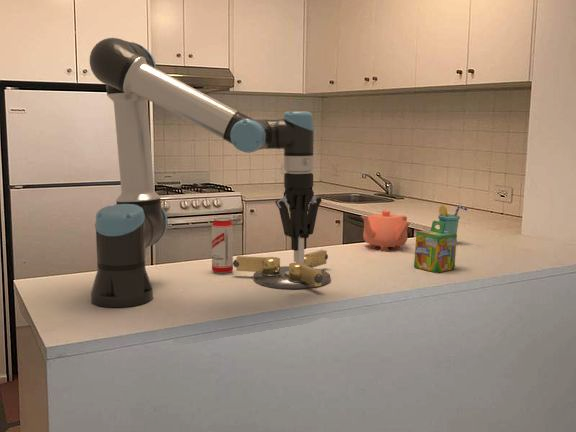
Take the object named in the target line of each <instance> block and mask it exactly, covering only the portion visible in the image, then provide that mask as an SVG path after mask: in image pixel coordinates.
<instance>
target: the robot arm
mask: <svg viewBox="0 0 576 432" xmlns="http://www.w3.org/2000/svg"><path fill="white" fill-rule="evenodd" d="M89 66H90V71H91V72H92V74H93V75H94V77H95V78H96V79H97V80H98V81H99V82H100V83H103V84H104V85H105V86H106V89H105V90H106V96H107V97H108V98H109V99H110V100H111V101H112V102H113V107H114V108H113V110H114V121H115V132H116V145H117V155H118V157H117V158H118V166H119V167H118V168H119V179H120V188H121V189H120V190H121V191H120V194H119V196H118V197H117V198H116V200H115V201H116V204H113V205H107V206H104V207H102V208H101V209H99V210H97V212H96V215H95V223H94V228H95V240H96V241H95V242H96V244H95V245H96V262H97V263H96V265H97V266H96V267H97V268H96V269H97V272H96V274H95V276H94V277H95V278H94V281H93V286H92V288H91V292H90V301H91V303H92V304H94V305H96V306H99V307H104V308H105V307H106V308H127V307H135V306H139V305H144V304H147V303H149V302H151V301H152V300H153V298H154V291H153V286H152V283H151V281H150V277H149V275H148V272H147V269H146V249H147V248H148V247H150V246H154V245H155V244H157V243H158V242H159V241H160V240H161V239H162V238H163V237H164V235H165V234H166V231H167V228H168V217H167V214H166V211H165V210H164V208H163V207H162V202H161V196H160V195H159V194H158V193H157V192H156V191H155V185H154V184H155V183H154V172H153V171H154V170H153V159H152V145H151V134H150V120H149V106H148V101H150V102H151V103H153V104H155V105H157V106H159V107H161V108H163V109H165V110H167V111H169V112H170V113H172V114H175V115H177V116H178V117H181V118H182V119H184V120H186V121H188V122H190V123H191V124H193V125H196V126H198V127H200V128H201V129H204V130H205V131H207V132H209V133H211V134H213V135H215V136H216V137H219V138H221V139H222V140H224V141H226V142H227V143H229V144H231V145H233V146H234V147H235V149H236V150H238V151H241V152H242V153H248V154H249V153H254V152H257V151H259V150H274V149H275V150H277V149H278V150H281V149H282V150H283V157H284V158H283V171H285V173H284V174H283V176H284V177H283V184H284V185H283V186H284V192H283V197H282V198H280V199H277V200H275V206H276V207H277V208H278V211H279V215H280V220H281V223H282V229H283V234H284V236H286V237H289V238H290V239H291V241H290V243H291V245H290V246H291V247H290V248H291V250H292V251H293V263H296V262H297V263H304V255H305V250H306V249H307V239H309V237H310V236H311V235H313V234H314V232H315V231H314V230H315V225H316V221H317V216H318V215H317V214H318V211H319V207H320V204H321V202H322V198H321V197H318V196H316V195H315V192H314V190H313V187H314V174H313V170H314V140H315V139H314V138H315V137H314V136H315V135H314V130H315V129H314V115H313V113H312V112H310V111H303V110H302V111H285V112H284V114H283V117H282V118H279V119H267V118H265V119H261V118H260V119H258V118H257V119H255V118H252V117H250V116H248V115H246V114H244V113H242V112H239V111H238V110H236V109H235V108H233V107H230V106H228V105H227V104H224V103H223V102H221V101H219V100H217V99H215V98H213V97H211V96H209V95H207V94H206V93H203V92H201V91H199V90H198V89H196V88H194V87H192V86H190V85H188V84H186V83H184V82H183V81H181V80H179V79H177V78H175V77H173V76H171V75H169V74H167V73H166V72H163V71H161V70H160V69H158V68H157V65H156V61H155V58H154V56H153V55H152V53H151V52H150V51H149V50H148V49H146V48H145V47H144V46H143V45H141V44H139V43H136V42H133V41H132V42H131V41H127V40H123V39H122V38H118V37H107V38H104V39H102V40H100V41H99V42H97V43H96V44H95V45H94V47H92V50H91V51H90V54H89ZM289 212H290V213H289Z"/></svg>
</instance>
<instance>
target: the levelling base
mask: <svg viewBox="0 0 576 432" xmlns="http://www.w3.org/2000/svg"><path fill="white" fill-rule="evenodd" d="M316 269H317V270H320V271H322V276H323V281H322V282H321V286H316V287H315V286H313V285H311V284H308V283H306V282H303V281H293V280H290V279H289V266H288V265H286V266H285V265H284V266H280V273H279V274H274V275H268V274H264V273H262V272H253V282H254V283H256V284H257V285H259V286H262V287H267V288H271V289H276V290H290V291H292V290H297V291H298V290H311V289H315V288H320V287H323V286H326V285H328V284H330V282H331V274H330V273H329V272H328V271H325V270H323V269H320V268H316Z"/></svg>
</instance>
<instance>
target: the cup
mask: <svg viewBox="0 0 576 432" xmlns="http://www.w3.org/2000/svg"><path fill="white" fill-rule="evenodd" d="M460 209H462V210H464V211H468V208H467V207H464V206H462V205H459V206H457V207H456V210H455V212H454V214H452V213H451V214H450V213H448V210H447V206H446V205H444V204H441V205H440V206H439V208H438V213H439V215H437V216H438V217H437V218H438V219H439V220H438V221H440V222H445V227H444V231H448V232H453V233H456V234H457V235H458V227H459V220H460V217H461V216H460V215H458V213H459V210H460ZM440 228H441V226H440V225H439V229H440Z"/></svg>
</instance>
